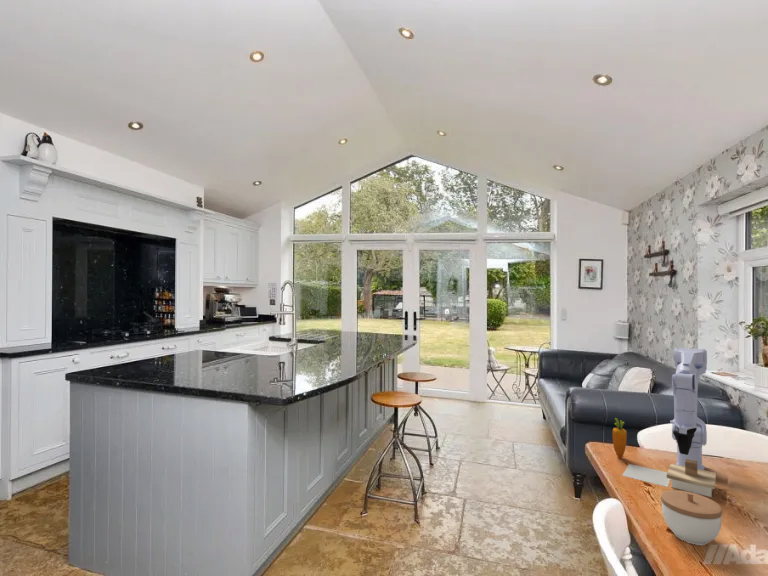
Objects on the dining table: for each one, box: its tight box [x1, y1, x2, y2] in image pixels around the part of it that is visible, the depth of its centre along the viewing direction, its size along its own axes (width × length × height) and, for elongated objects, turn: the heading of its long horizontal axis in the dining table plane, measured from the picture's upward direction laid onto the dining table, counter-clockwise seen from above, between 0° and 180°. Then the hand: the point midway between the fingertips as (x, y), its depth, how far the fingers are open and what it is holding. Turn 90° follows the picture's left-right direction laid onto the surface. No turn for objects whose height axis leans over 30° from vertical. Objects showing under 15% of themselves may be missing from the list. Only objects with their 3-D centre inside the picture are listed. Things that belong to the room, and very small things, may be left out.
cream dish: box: [671, 479, 714, 498], centre depth 132 cm, size 10×10×4 cm
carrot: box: [612, 417, 628, 459], centre depth 157 cm, size 5×5×15 cm
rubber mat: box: [621, 463, 672, 488], centre depth 141 cm, size 13×13×1 cm
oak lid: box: [667, 459, 717, 490], centre depth 133 cm, size 12×12×5 cm
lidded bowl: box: [660, 489, 723, 546], centre depth 105 cm, size 13×13×11 cm
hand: (685, 451), depth 136 cm, fingers open, 7 cm apart
